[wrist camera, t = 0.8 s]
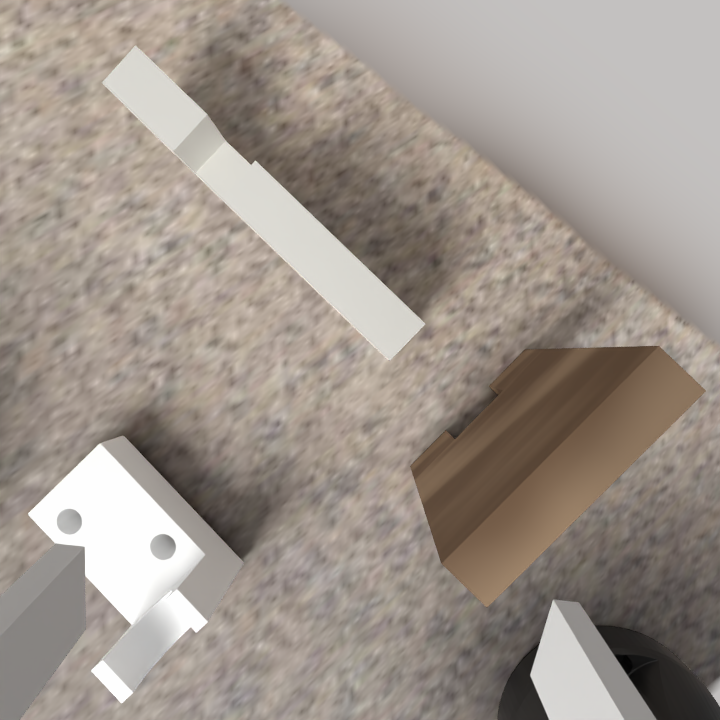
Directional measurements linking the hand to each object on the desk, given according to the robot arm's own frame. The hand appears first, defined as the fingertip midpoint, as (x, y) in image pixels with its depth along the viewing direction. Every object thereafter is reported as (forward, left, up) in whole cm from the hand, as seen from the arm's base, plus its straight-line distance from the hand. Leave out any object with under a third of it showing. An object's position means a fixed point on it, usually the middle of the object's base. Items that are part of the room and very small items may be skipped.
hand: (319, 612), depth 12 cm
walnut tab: (-5, -8, -19) cm, 21 cm away
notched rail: (+15, -8, -19) cm, 25 cm away
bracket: (+7, +15, -19) cm, 25 cm away
